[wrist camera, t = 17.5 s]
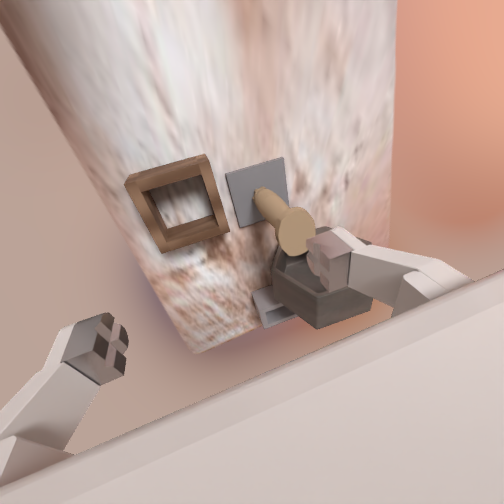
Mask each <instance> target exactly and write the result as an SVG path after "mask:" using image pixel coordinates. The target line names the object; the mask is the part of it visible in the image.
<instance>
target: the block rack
mask: <svg viewBox="0 0 504 504" xmlns="http://www.w3.org/2000/svg"><path fill="white" fill-rule="evenodd" d="M251 293H252V296H253V300H254V303H255V307H256V310H257V313H258V315H259V318H260V320H261V323H262V325H263V328H264V329H267V328H269V327H272V326H274V325H277V324H279V323H282V322H285V321H287V320H290V319H292V318H295V317H298V315H296V314H295V313H294V312H292V311H291V310H289V309H288V308H287V307H285V306H284V305H283V304H281V303H280V302H279V301H277V300H276V299H275V298H274V290H273V285H270V286H267V287H264V288H262V289H259V290H256V291H253V292H251Z"/></svg>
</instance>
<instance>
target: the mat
mask: <svg viewBox="0 0 504 504" xmlns="http://www.w3.org/2000/svg"><path fill="white" fill-rule="evenodd" d="M226 178H227V182H228V186H229V189H230V193H231V197H232V201H233V204H234V208H235V212H236V215H237V219H238V223H239V226H240V228H241V227H244V226H247V225H250V224H253V223H256V222H259V221H262V220H266V219H265V218H264V217H263V216H262V214H261V213H260V212H259V210H258V208H257V207H256V205H255V203H254V201H253V198H252V197H253V196H254V190H255V189H259V188H260V187H262V186H263V187H266V189H269V190H271V191H273V192H274V193H276V194H277V195H278V196H279V197H280V198H281V199H282V200H283V201H284V202H285V203H286V204H287V205H288V207H289V201H288V192H287V184H286V175H285V166H284V158H283V157H280V158H277V159H274V160H270V161H267V162H263V163H260V164H257V165H253V166H250V167H246V168H243V169H240V170H236V171H233V172H229V173H226Z"/></svg>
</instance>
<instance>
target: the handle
mask: <svg viewBox="0 0 504 504" xmlns="http://www.w3.org/2000/svg"><path fill="white" fill-rule="evenodd" d="M252 198H253V201H254V203H255V205H256V207H257V208H258V210H259V212H260V213H261V214H262V216H263V217H264V218H265V219H266V220H267V221H268V222H269V223H270V224H271V225H272V226H273V227H274V228H275V236H276V239H277V242H278V244H279V245H280V247H281V248H282V249H283V250H284V251H285V252H286V253H287V254H288V255H289V256H297V255H300V254H303V253H305V252H306V251H308V249H307V248H306V239H308V238H310V237H313V236H315V234H316V230H315V223H314V220H313V218H312V217H311V216H310V214H309V213H308V212H307V211H306V210H305V209H303V208H301V207H293V208H289V207H288V205H287V204H286V203H285V202H284V201H283V200H282V199H281V198H280V197H279V196H278V195H277V194H276V193H274V192H273V191H271V190H269V189H266V187H263V186H262V187H260V188H259V189H255V190H254V196H253V197H252Z"/></svg>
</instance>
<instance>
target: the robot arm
mask: <svg viewBox="0 0 504 504" xmlns="http://www.w3.org/2000/svg"><path fill="white" fill-rule="evenodd" d="M306 248H307V249H308V250H309V251H308V253H307V262H308V265H309V268H310V269H311V271H312V272H313V274H314V275H316V276H319V277H320V282H321V283H322V285H323V286H324V287H325V288H326V289H327V291H328V292H329V293H330V292H332V291H335V290H338V289H341V288H343V287H346V286H348V287H350V288H352V289H354V290H356V291H359V292H361V293H363V294H365V295H367V296H369V297H372V298H374V299H376V300H379V301H380V302H383V303H385V304H387V305H389V306H391V307H394V309H393V312H392V316H391V318H390V319H387V320H385V321H383V322H381V323H378V324H376V325H373V326H371V327H369V328H367V329H365V330H362V331H360V332H358V333H355V334H353V335H350V336H348V337H346V338H344V339H341V340H339V341H337V342H334V343H332V344H330V345H328V346H325V347H323V348H320V349H318V350H316V351H314V352H311V353H309V354H307V355H304V356H302V357H300V358H297V359H295V360H293V361H290V362H288V363H286V364H284V365H281V366H279V367H277V368H274V369H272V370H270V371H267V372H265V373H263V374H260V375H258V376H256V377H254V378H252V379H249V380H247V381H244V382H242V383H240V384H238V385H235V386H233V387H231V388H228V389H226V390H224V391H221V392H219V393H217V394H215V395H212V396H210V397H208V398H205V399H203V400H201V401H198V402H196V403H194V404H192V405H189V406H187V407H185V408H182V409H180V410H178V411H176V412H173V413H171V414H169V415H166V416H164V417H162V418H160V419H157V420H155V421H152V422H150V423H148V424H145V425H143V426H141V427H139V428H136V429H134V430H132V431H129V432H127V433H125V434H122V435H120V436H118V437H116V438H113V439H111V440H109V441H106V442H104V443H102V444H99V445H97V446H95V447H92V448H91V449H88V450H86V451H84V452H81V453H79V454H76V455H74V454H71V453H68V452H65V451H63V450H64V448H65V446H66V445H67V443H68V441H69V440H70V438H71V436H72V435H73V433H74V431H75V429H76V428H77V426H78V424H79V423H80V421H81V419H82V418H83V416H84V414H85V412H86V411H87V409H88V407H89V406H90V404H91V402H92V401H93V399H94V397H95V396H96V394H97V392H98V390H99V389H100V386H101V385H103V384H105V383H107V382H110V381H112V380H114V379H117V378H119V377H121V376H124V371H125V365H126V357H125V356H124V355H123V354H124V352H125V351H126V350H127V348H128V342H129V340H128V335H127V332H126V330H125V328H124V327H123V326H122V325H120V324H117V323H114V317H113V316H112V315H111V314H110V313H103V314H100V315H97V316H94V317H91V318H88V319H85V320H82V321H79V322H77V323H74V324H71V325H68V326H66V327H63V328H62V329H61V330H60V331H59V333H58V336H57V338H56V340H55V342H54V345H53V347H52V349H51V351H50V353H49V356H48V358H47V360H46V363H45V365H44V367H43V369H42V371H40V372H37V373H36V374H35V375H34V376H33V377H32V378H31V379H30V380H29V381H28V382H27V383H26V385H24V387H23V388H22V389H21V390H20V391H19V392H18V393H17V394H16V395H15V396H14V397H13V398H12V399H11V400H10V401H9V402H8V403H7V404H6V405H5V407H3V409H2V410H1V411H0V504H504V269H502V270H500V271H498V272H496V273H493V274H491V275H489V276H486V277H484V278H482V279H480V280H477V281H473V280H472V279H470V278H469V277H467V276H465V275H464V274H462V273H460V272H459V271H457V270H456V269H454V268H452V267H451V266H449V265H447V264H446V263H444V262H443V261H441V260H439V259H435V258H430V257H425V256H420V255H416V254H411V253H407V252H402V251H398V250H393V249H389V248H384V247H379V246H375V245H365V244H364V243H363V242H361V241H360V240H359V239H357V238H356V237H355V236H353V235H352V234H351V233H349V232H348V231H347V230H345V229H344V228H343V227H340V226H339V227H336V228H333V229H331V230H328V231H326V232H324V233H321V234H318V235H316V236H313V237H310V238H308V239H306Z"/></svg>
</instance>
